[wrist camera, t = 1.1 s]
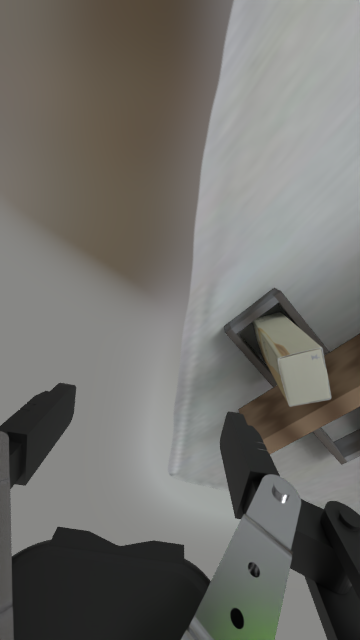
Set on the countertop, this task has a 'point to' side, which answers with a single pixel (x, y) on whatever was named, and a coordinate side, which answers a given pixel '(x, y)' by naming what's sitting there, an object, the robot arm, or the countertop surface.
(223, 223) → the countertop surface
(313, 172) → the countertop surface
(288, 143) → the countertop surface
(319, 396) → the skincare box
